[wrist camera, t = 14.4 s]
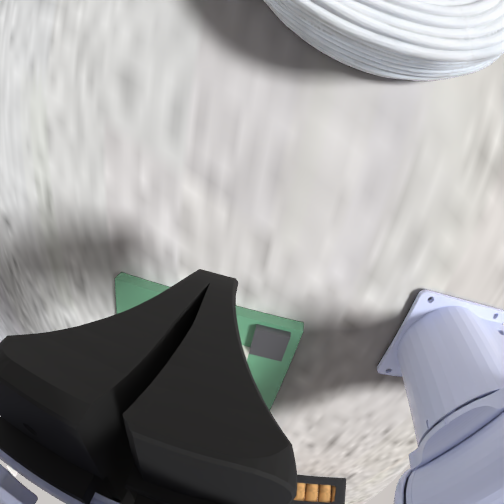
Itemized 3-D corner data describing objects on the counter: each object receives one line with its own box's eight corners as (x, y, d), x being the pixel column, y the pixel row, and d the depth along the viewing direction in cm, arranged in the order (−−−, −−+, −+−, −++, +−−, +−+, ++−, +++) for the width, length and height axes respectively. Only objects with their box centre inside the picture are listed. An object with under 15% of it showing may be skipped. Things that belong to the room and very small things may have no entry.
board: (303, 322, 22) (302, 345, 19) (265, 414, 27) (261, 435, 25) (121, 272, 22) (104, 288, 20) (128, 373, 28) (117, 390, 25)
